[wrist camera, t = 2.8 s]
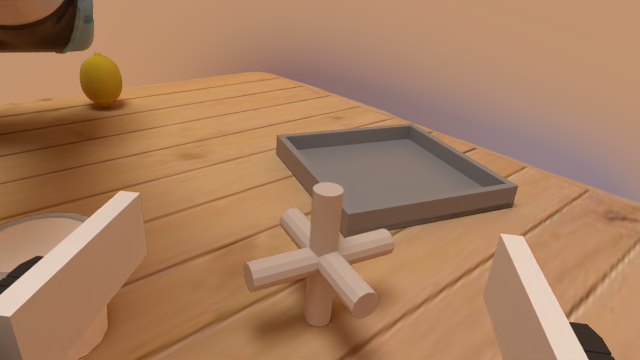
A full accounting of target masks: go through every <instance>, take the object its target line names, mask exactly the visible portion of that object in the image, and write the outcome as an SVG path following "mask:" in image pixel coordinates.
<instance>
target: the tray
mask: <svg viewBox="0 0 640 360" xmlns="http://www.w3.org/2000/svg"><path fill="white" fill-rule="evenodd" d="M276 154H277V155H278V157H279V158H280V159H281V160H282V161H283V163H284V164H285V165H286V166H287V168H288V169H289V170H290V171H291V172H292V174H293V175H294V176H295V177H296V178H297V180H298V181H299V182H300V183H301V185H302V186H303V187H304V188H305V189H306V191H307V192H308V193H309V194H310V196H311V197H312V198H313V187H314V186H315V185H316V184H318V183H322V182H331V183H335V184H338V185H340V186H341V187H342V188H343V190H344V191H343V201H342V211H341V221H340V232H341V233H342V234H343V236H344V237H345V238H347V237H351V236H355V235H359V234H363V233H367V232H371V231H375V230H379V229H383V228H384V229H386V230H393V229H398V228H404V227H409V226H414V225H419V224H425V223H430V222H435V221H441V220H446V219H451V218H457V217H462V216H467V215H473V214H478V213H483V212H488V211H494V210H499V209H504V208H510V207H512V205H513V202H514V198H515V195H516V191H517V188H518V186H517V185H516V184H514V183H512V182H510V181H509V180H507V179H505V178H504V177H502V176H500V175H499V174H497V173H495V172H493V171H492V170H490V169H488V168H487V167H485V166H483V165H482V164H480V163H478V162H476V161H475V160H473V159H471V158H470V157H468V156H466V155H465V154H463V153H461V152H460V151H458V150H456V149H454V148H453V147H451V146H449V145H448V144H446V143H444V142H443V141H441V140H439V139H437V138H436V137H434V136H432V135H431V134H429V133H427V132H426V131H424V130H422V129H421V128H419V127H417V126H415V125H414V124H400V125H388V126H377V127H365V128H354V129H342V130H330V131H319V132H307V133H295V134H284V135H277V149H276Z"/></svg>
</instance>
